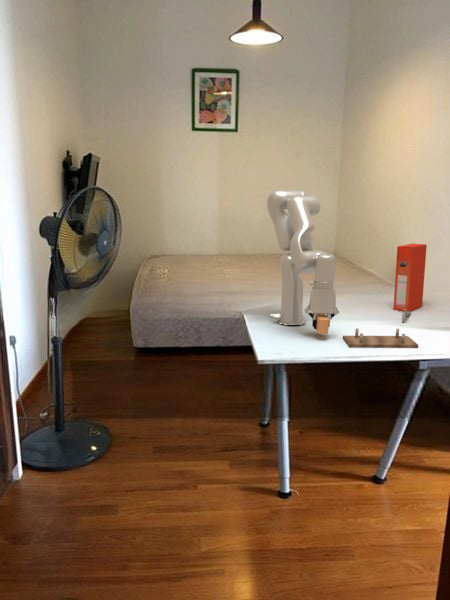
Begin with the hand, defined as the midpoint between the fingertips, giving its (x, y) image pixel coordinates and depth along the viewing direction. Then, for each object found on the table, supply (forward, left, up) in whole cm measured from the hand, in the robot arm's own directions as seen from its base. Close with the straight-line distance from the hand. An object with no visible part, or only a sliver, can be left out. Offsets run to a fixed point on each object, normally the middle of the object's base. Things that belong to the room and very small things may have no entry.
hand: (320, 328), depth 205 cm
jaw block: (0, 0, -1) cm, 1 cm away
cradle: (+21, -9, -3) cm, 24 cm away
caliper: (+45, +31, -4) cm, 55 cm away
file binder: (+52, +51, -4) cm, 73 cm away
